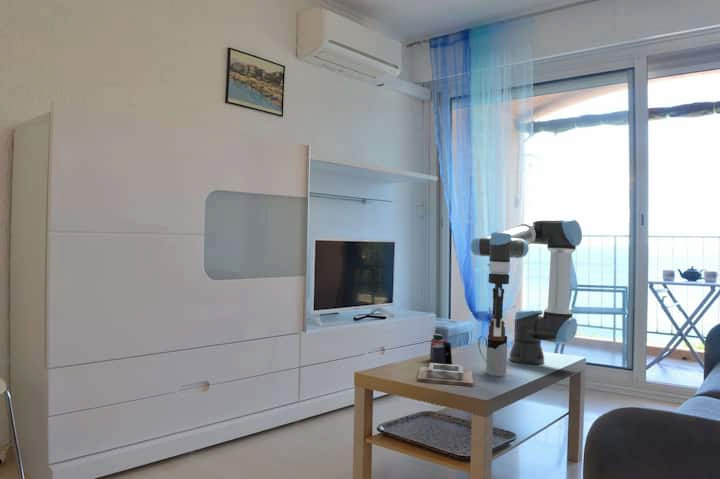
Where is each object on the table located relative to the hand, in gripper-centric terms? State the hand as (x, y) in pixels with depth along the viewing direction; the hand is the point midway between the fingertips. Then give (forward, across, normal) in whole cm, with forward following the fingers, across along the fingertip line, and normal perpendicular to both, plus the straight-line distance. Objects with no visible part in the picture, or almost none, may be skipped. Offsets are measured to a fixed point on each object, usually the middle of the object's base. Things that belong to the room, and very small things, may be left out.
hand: (496, 334), depth 202 cm
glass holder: (+18, -17, 0) cm, 25 cm away
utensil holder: (+2, 0, 0) cm, 2 cm away
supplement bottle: (+18, -31, -22) cm, 42 cm away
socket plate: (+18, 0, -18) cm, 25 cm away
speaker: (+18, -20, -20) cm, 33 cm away
